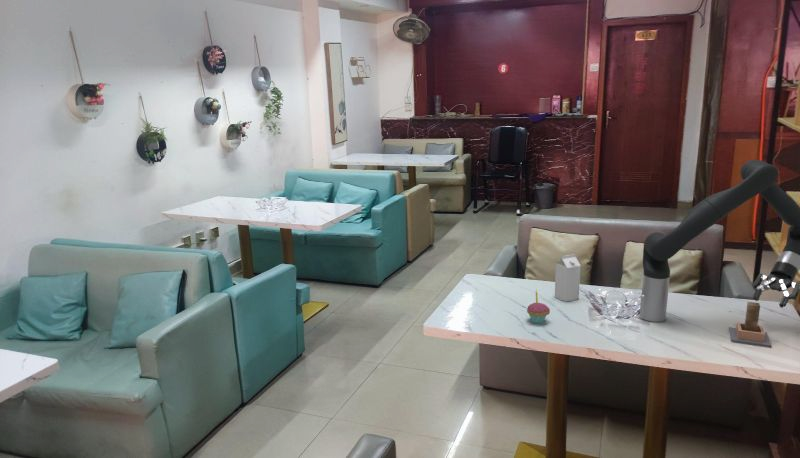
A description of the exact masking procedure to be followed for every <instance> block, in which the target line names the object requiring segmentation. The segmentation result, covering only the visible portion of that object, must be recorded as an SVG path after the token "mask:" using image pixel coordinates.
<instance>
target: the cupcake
mask: <svg viewBox="0 0 800 458" xmlns="http://www.w3.org/2000/svg"><path fill="white" fill-rule="evenodd" d="M538 298H539V297H538V292H537V289H535V302H533V303H531V304H529V305H527V309H526V312H527V314H528V315H529V317H530V321H531V323H534V324H544V322H545V319H546V317H547V316H548V315H550V313H551V311H550V307H549V306H548V305H546V304H544V303H540V302H539V299H538Z"/></svg>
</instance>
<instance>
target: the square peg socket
mask: <svg viewBox="0 0 800 458" xmlns="http://www.w3.org/2000/svg"><path fill="white" fill-rule="evenodd" d="M744 326H745V322H739V321H737V322H736V323H735V327H730V326H729V327H728V332H729V337H730V342H731V343H737V344H742V345H743V344H744V345H751V346H757V347H758V346H759V347H764V348H765V347H766V348H772V343H771V340H770V337H769V334H768V332H767V331H765V330H764V326H763V325H761V324H758V325H757V332H753V331H746V330H744Z"/></svg>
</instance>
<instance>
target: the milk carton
mask: <svg viewBox="0 0 800 458" xmlns="http://www.w3.org/2000/svg"><path fill="white" fill-rule="evenodd" d="M555 263H556V264H555V279H554V281H555V282H554V297H555V298H557V299H558V300H561V301H563V302H565V303H567V302H572V301H577V300H579V297H580V287H581V286H580V283H581V267H582V266H581V264H580V262H579V260H578V258H577V255H576V253H574V254H573V253H572V254H567V255H563V256H561V258H560V260H558V261H557V262H555Z"/></svg>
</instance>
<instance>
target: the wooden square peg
mask: <svg viewBox="0 0 800 458" xmlns="http://www.w3.org/2000/svg"><path fill="white" fill-rule="evenodd" d="M760 309H761V305H760V302H755V301H754V302H753V301H747V305H746V313H745V318H744V323H745V326H744V330H746V331H753V332H757V325H759V324H758V323H759V317H760V311H761V310H760Z"/></svg>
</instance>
